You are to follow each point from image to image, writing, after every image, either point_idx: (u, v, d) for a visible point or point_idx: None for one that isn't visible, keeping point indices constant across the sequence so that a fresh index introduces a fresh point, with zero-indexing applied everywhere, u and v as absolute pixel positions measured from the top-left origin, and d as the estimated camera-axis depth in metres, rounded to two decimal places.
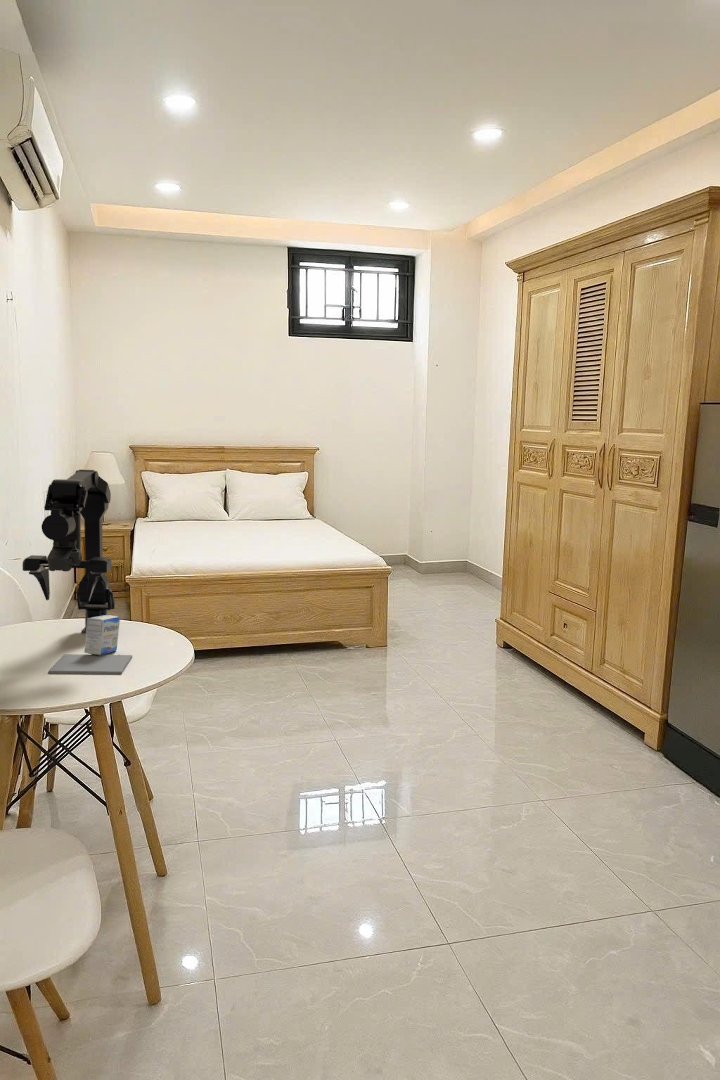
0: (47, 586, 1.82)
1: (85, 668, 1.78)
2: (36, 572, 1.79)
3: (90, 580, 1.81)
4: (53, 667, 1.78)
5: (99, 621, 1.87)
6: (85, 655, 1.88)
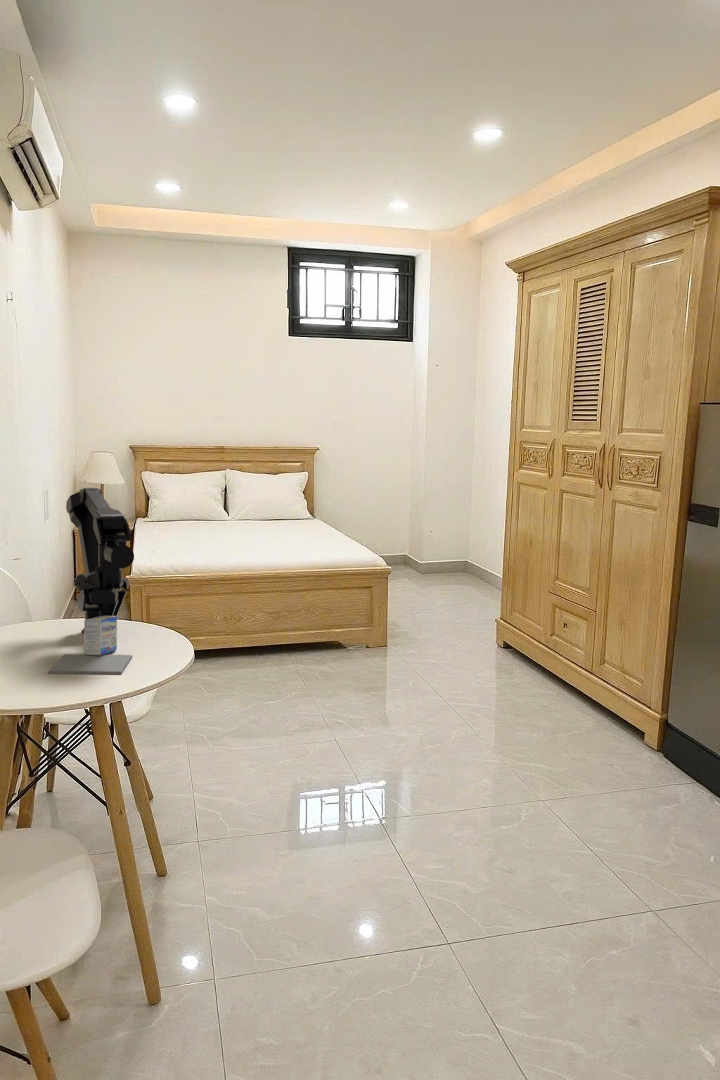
0: None
1: (85, 668, 1.78)
2: None
3: None
4: (53, 667, 1.78)
5: (96, 622, 1.87)
6: (85, 655, 1.88)
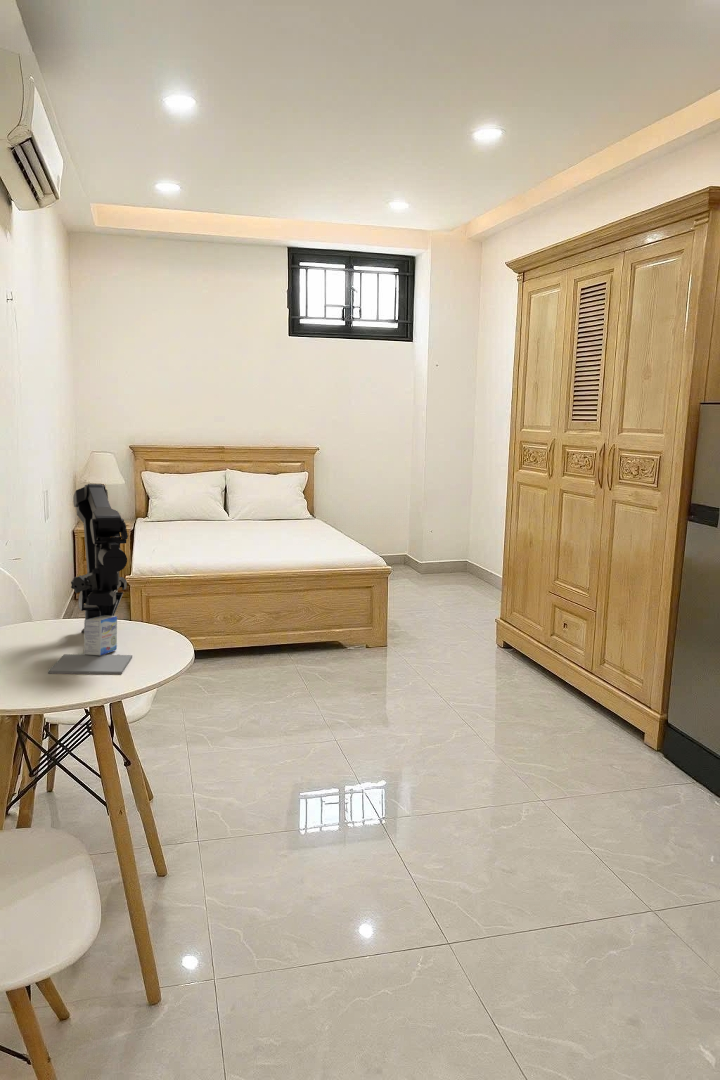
0: None
1: (85, 668, 1.78)
2: None
3: None
4: (53, 667, 1.78)
5: (96, 622, 1.87)
6: (85, 655, 1.88)
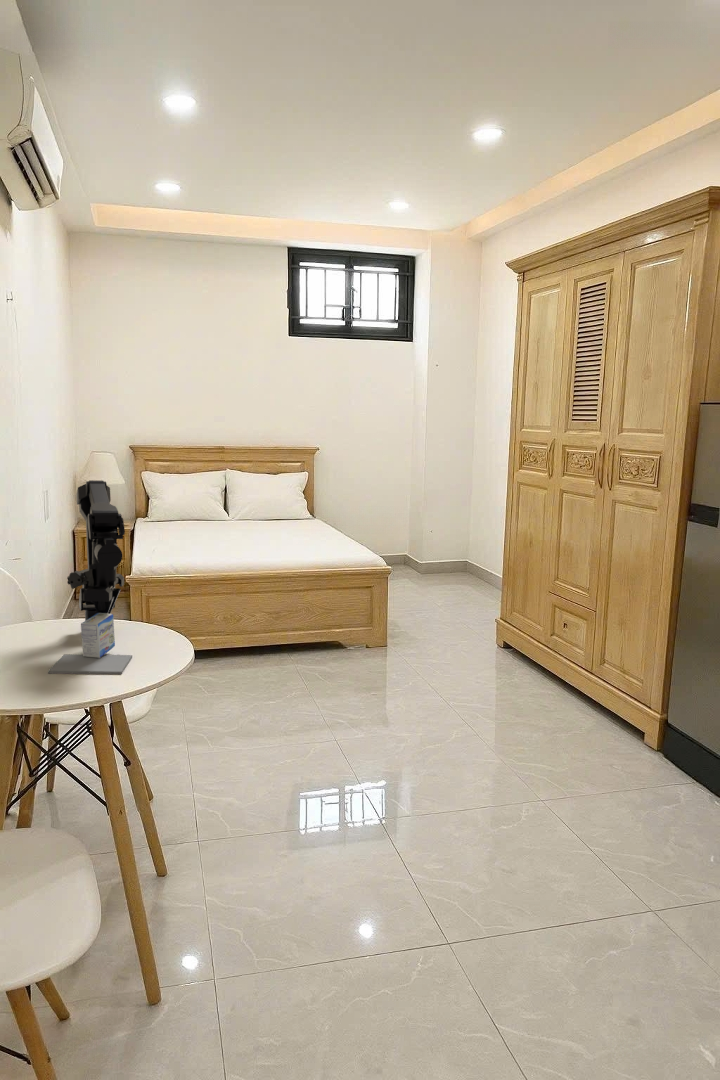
0: None
1: (85, 668, 1.78)
2: None
3: None
4: (53, 667, 1.78)
5: (93, 626, 1.84)
6: None
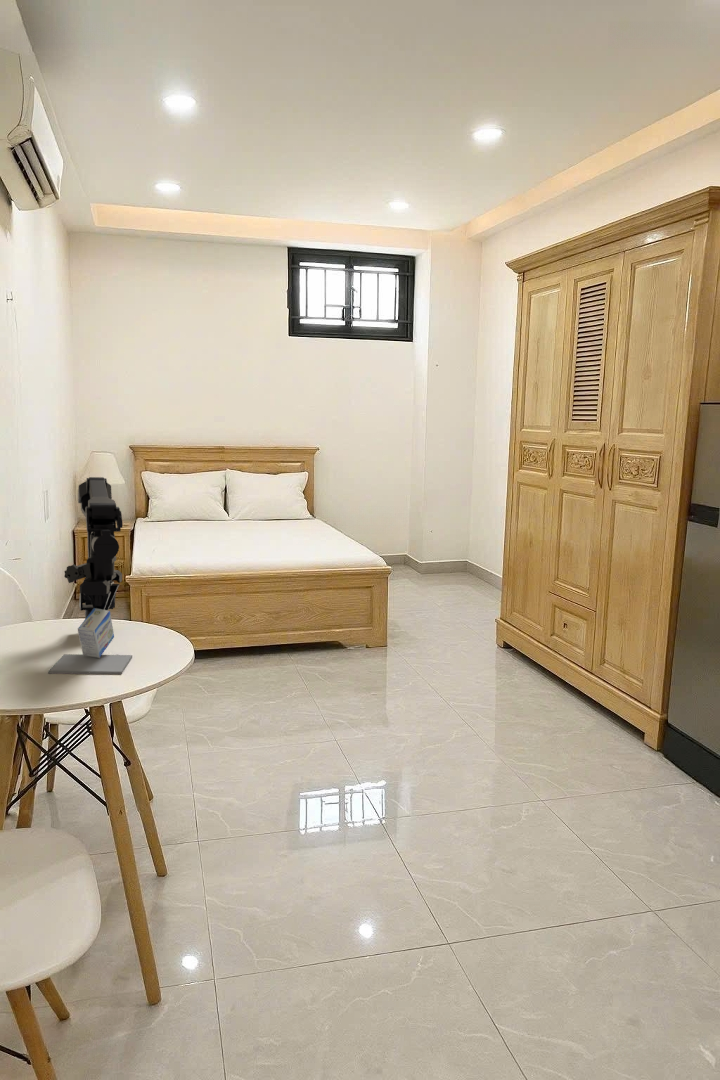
0: None
1: (85, 668, 1.78)
2: None
3: None
4: (53, 667, 1.78)
5: (90, 632, 1.81)
6: (85, 655, 1.88)
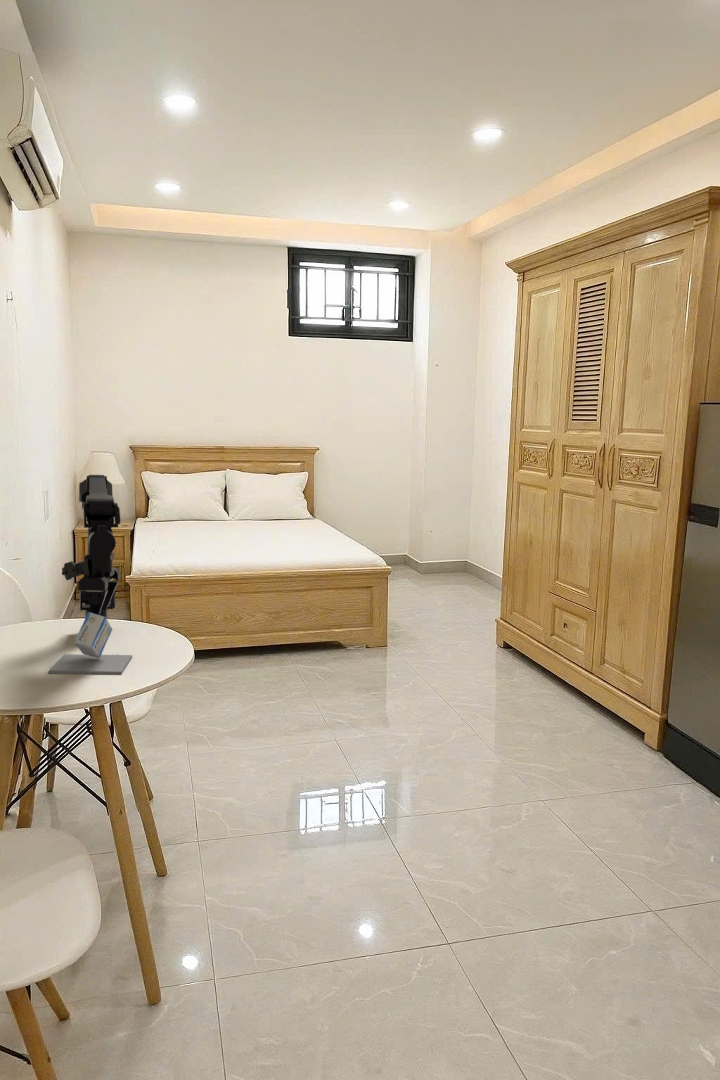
0: None
1: (85, 668, 1.78)
2: None
3: None
4: (53, 667, 1.78)
5: (87, 646, 1.79)
6: (85, 655, 1.88)
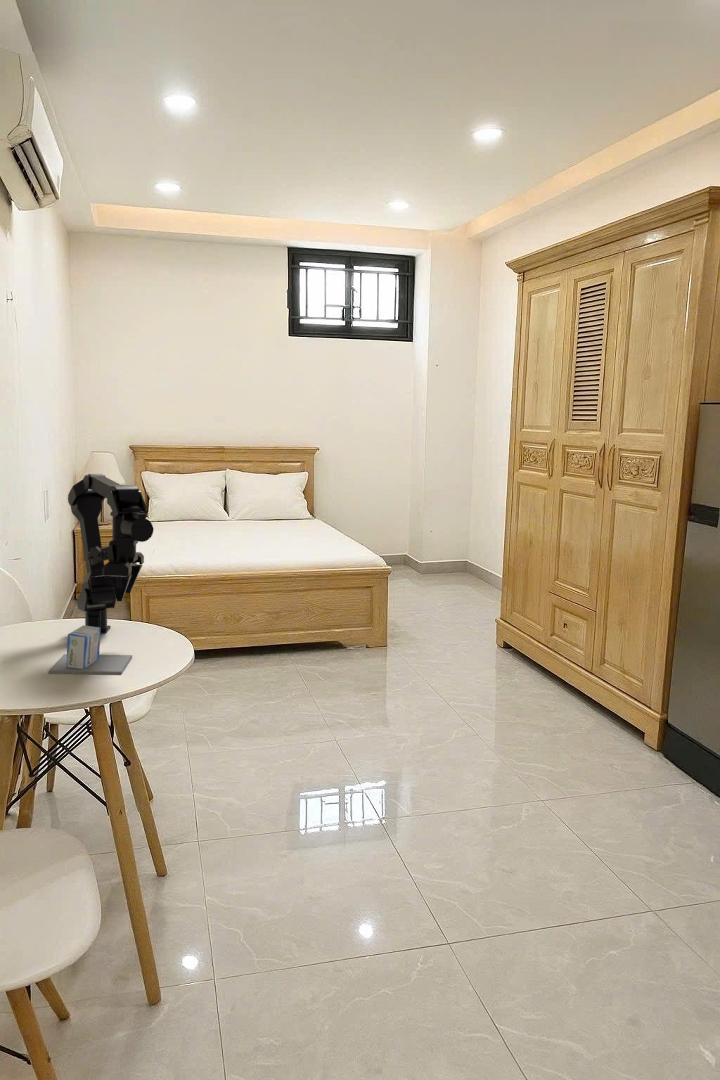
0: None
1: (85, 668, 1.78)
2: None
3: None
4: (53, 667, 1.78)
5: (80, 668, 1.78)
6: None
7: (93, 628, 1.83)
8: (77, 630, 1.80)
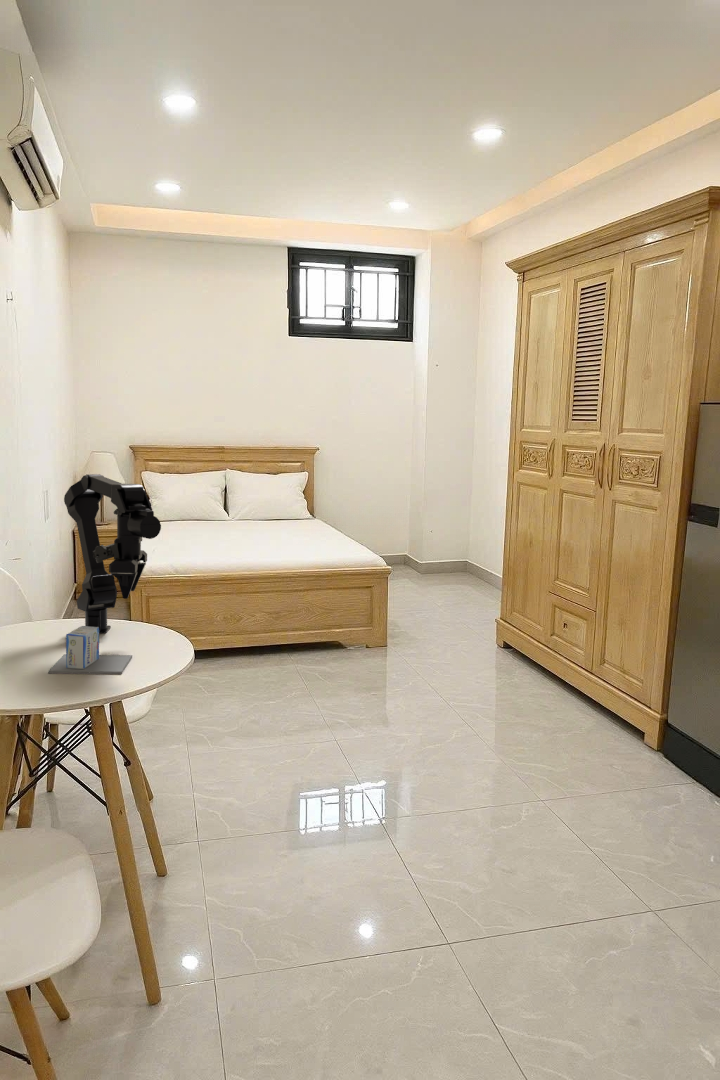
0: None
1: (85, 668, 1.78)
2: None
3: (118, 578, 1.93)
4: (53, 667, 1.78)
5: (80, 668, 1.78)
6: None
7: (91, 628, 1.83)
8: (75, 630, 1.80)
